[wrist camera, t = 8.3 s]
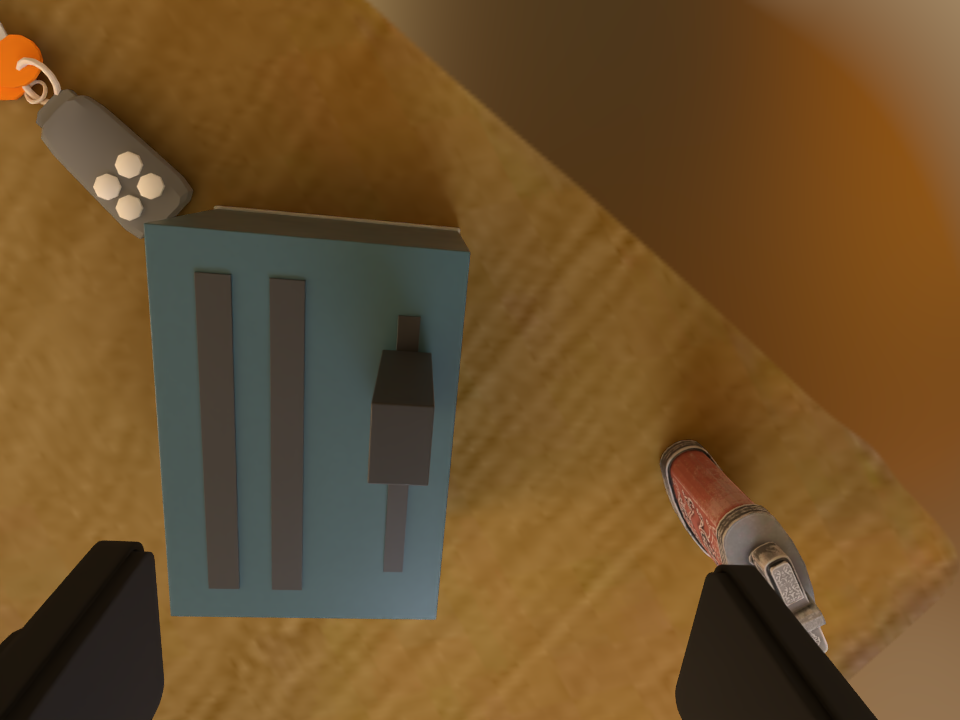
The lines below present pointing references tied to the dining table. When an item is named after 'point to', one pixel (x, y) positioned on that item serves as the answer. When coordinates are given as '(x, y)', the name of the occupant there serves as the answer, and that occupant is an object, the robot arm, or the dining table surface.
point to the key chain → (94, 143)
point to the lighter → (737, 529)
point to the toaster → (297, 409)
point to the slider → (402, 419)
